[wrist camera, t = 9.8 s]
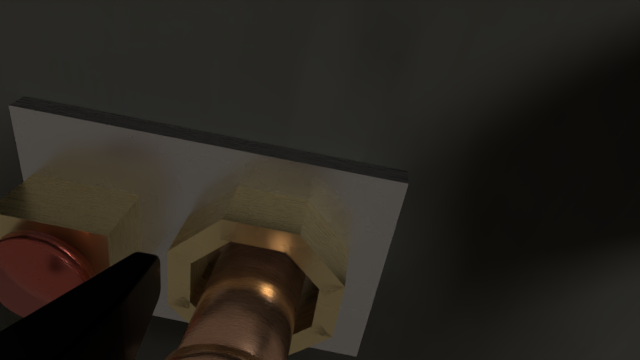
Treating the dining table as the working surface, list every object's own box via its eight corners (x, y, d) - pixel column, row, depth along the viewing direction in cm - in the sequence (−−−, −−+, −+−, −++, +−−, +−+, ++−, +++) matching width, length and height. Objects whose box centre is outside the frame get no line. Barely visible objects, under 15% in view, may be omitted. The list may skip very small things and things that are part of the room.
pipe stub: (320, 227, 22) (289, 382, 15) (307, 301, 24) (276, 463, 17) (219, 209, 22) (143, 355, 15) (217, 284, 24) (150, 439, 17)
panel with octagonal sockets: (407, 171, 21) (413, 249, 16) (357, 341, 26) (351, 434, 22) (23, 96, 21) (-75, 152, 17) (56, 280, 27) (-11, 359, 22)
